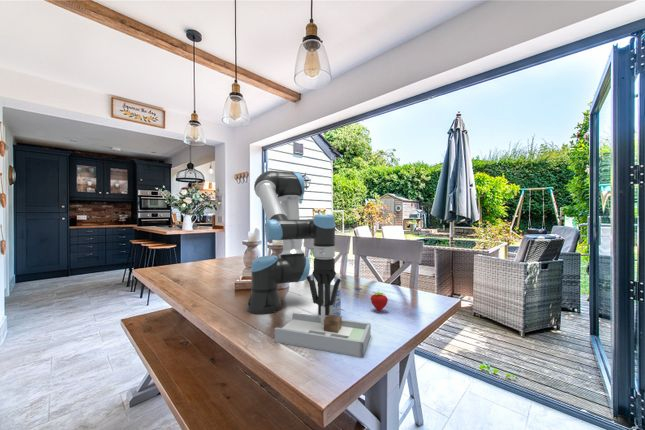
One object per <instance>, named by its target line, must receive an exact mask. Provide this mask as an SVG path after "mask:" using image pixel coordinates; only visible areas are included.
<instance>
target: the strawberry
mask: <svg viewBox="0 0 645 430" xmlns="http://www.w3.org/2000/svg"><path fill="white" fill-rule="evenodd" d="M372 293H373V294H372V295H371V296H370V302H371V304H372V306H373V307H374V308H375V310H376V311H377V312H379V313H380V312H382V310H383V309H384V308H385V307H386V305H387V304H388V302H389V300H388V297H387V296H386V294H383V292H380V291H377V292H372Z"/></svg>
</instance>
